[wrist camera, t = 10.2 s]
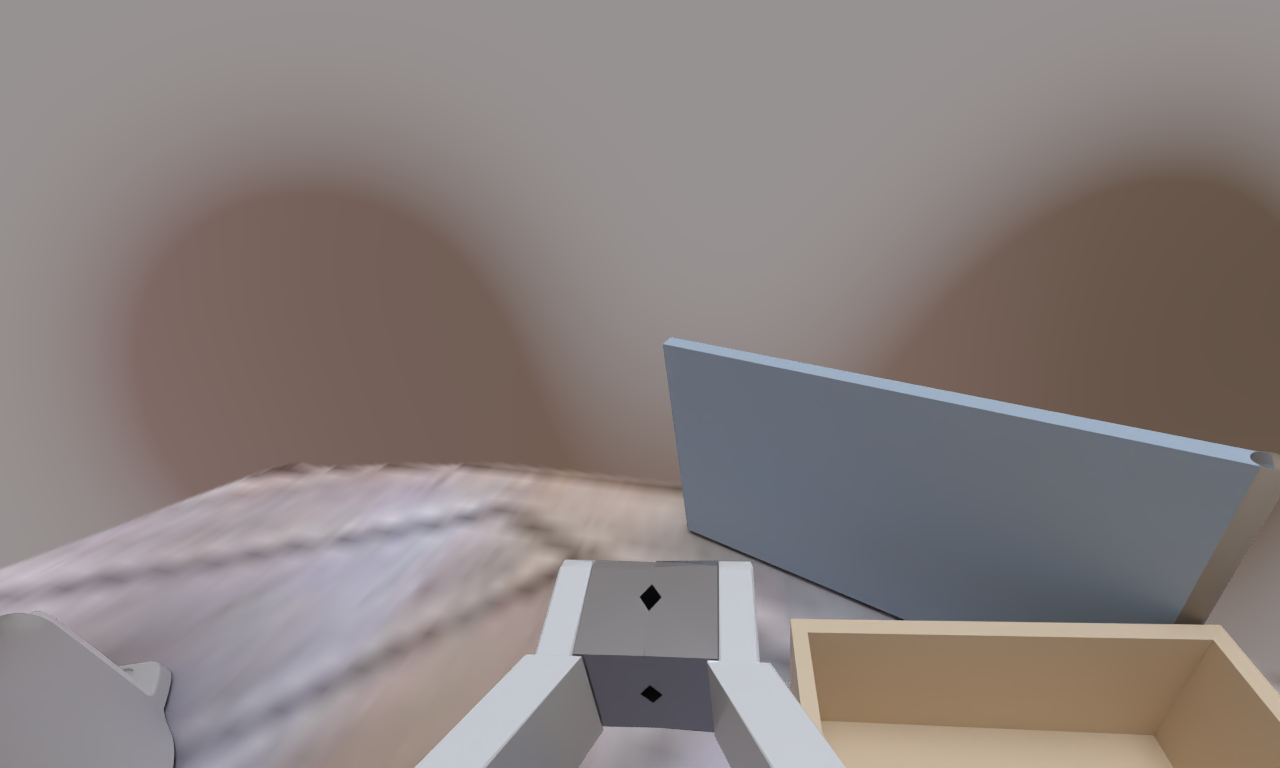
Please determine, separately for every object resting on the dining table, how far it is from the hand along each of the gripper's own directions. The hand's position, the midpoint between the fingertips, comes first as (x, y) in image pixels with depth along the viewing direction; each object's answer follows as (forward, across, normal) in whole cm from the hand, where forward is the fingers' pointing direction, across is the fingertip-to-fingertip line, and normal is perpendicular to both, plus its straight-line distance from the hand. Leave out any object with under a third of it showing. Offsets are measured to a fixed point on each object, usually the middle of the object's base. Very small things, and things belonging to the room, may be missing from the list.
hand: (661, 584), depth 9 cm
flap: (+15, -8, +20) cm, 26 cm away
